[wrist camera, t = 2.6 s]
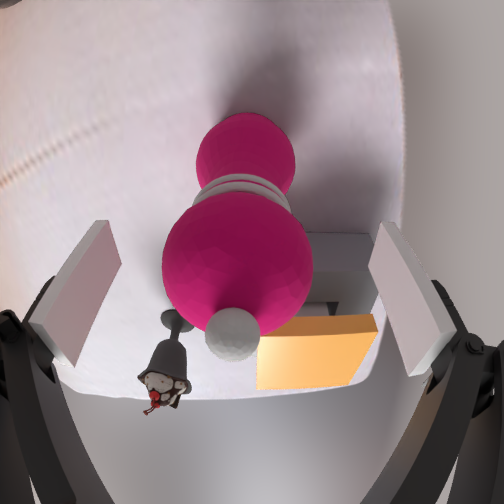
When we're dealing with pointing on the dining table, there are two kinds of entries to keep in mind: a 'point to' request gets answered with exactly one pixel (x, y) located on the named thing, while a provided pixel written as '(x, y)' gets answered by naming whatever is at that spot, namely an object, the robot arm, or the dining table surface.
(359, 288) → the breaker box
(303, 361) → the button
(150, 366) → the sundae
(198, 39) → the dining table surface
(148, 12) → the dining table surface
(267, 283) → the pepper mill
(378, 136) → the dining table surface
